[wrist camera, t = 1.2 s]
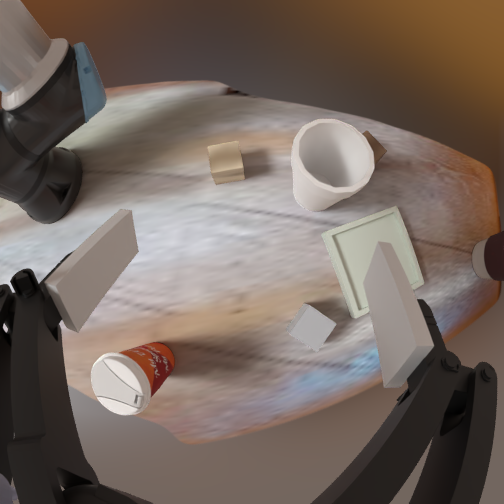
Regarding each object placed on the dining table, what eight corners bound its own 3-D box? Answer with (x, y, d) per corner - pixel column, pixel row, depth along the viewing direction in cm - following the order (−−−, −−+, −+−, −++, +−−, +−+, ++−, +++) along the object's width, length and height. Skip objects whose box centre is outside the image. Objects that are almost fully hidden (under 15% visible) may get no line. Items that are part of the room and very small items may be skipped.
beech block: (212, 159, 42) (207, 146, 37) (240, 154, 42) (238, 140, 37) (215, 184, 41) (211, 173, 36) (244, 179, 41) (243, 167, 36)
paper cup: (188, 347, 38) (153, 375, 24) (174, 390, 37) (139, 430, 23) (142, 327, 38) (92, 342, 24) (130, 369, 38) (82, 397, 24)
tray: (321, 234, 39) (324, 231, 37) (391, 208, 40) (396, 205, 38) (351, 317, 38) (355, 318, 36) (418, 284, 38) (424, 283, 36)
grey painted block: (285, 328, 38) (289, 334, 34) (303, 303, 38) (309, 305, 34) (310, 345, 38) (316, 352, 33) (328, 320, 38) (336, 323, 34)
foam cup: (352, 211, 40) (387, 180, 27) (297, 230, 40) (314, 204, 27) (327, 157, 41) (350, 112, 28) (274, 173, 41) (280, 128, 28)
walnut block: (341, 156, 41) (349, 143, 37) (358, 143, 41) (366, 130, 37) (360, 176, 41) (370, 165, 36) (376, 162, 41) (387, 151, 36)
